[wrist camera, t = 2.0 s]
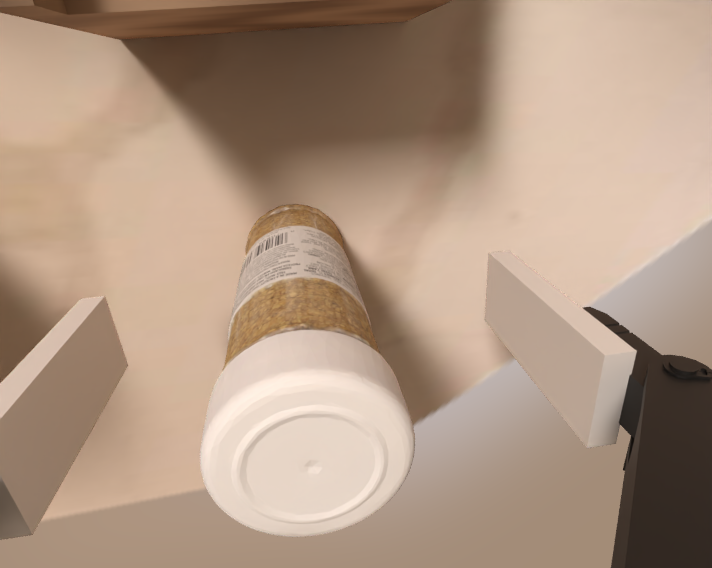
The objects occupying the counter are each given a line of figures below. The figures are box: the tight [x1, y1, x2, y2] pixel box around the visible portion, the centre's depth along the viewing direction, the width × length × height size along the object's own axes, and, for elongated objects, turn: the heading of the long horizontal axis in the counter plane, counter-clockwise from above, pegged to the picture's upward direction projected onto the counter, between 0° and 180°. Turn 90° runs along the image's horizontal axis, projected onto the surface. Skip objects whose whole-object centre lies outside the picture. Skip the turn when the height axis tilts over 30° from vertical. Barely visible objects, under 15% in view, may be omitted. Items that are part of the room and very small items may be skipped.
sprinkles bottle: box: [200, 204, 415, 537], centre depth 15 cm, size 5×5×13 cm
